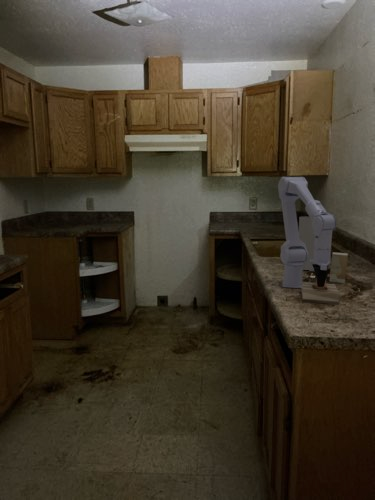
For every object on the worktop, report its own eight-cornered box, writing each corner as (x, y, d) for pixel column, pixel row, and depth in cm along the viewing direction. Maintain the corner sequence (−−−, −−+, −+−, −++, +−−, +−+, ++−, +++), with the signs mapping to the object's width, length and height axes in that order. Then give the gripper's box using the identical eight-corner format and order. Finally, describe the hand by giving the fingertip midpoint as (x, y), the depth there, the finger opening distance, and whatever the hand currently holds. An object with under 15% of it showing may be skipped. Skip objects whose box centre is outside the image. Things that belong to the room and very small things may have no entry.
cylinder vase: (328, 270, 183) (332, 218, 179) (307, 272, 179) (311, 219, 174) (311, 265, 195) (314, 216, 190) (291, 267, 190) (294, 216, 186)
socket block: (301, 292, 147) (301, 282, 146) (334, 294, 144) (334, 284, 144) (302, 301, 136) (303, 290, 135) (338, 304, 133) (339, 293, 132)
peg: (319, 289, 142) (320, 273, 141) (327, 291, 139) (328, 275, 138) (313, 290, 140) (314, 275, 139) (321, 293, 137) (322, 277, 136)
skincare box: (329, 281, 163) (331, 253, 160) (329, 279, 167) (331, 252, 164) (345, 283, 160) (348, 254, 158) (345, 280, 164) (348, 253, 162)
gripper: (309, 244, 144) (306, 279, 147) (312, 251, 130) (310, 289, 133) (328, 245, 143) (326, 280, 145) (334, 252, 129) (331, 291, 131)
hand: (319, 285), depth 139 cm, fingers open, 4 cm apart
